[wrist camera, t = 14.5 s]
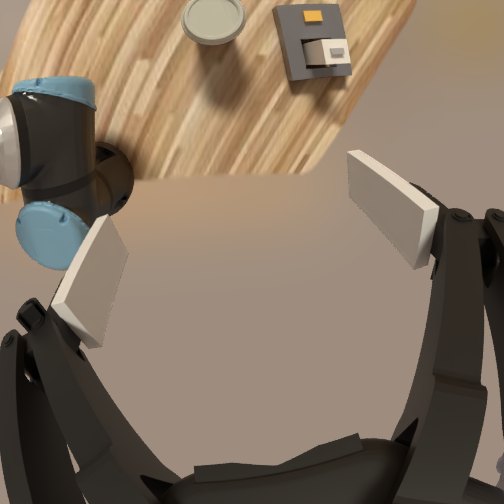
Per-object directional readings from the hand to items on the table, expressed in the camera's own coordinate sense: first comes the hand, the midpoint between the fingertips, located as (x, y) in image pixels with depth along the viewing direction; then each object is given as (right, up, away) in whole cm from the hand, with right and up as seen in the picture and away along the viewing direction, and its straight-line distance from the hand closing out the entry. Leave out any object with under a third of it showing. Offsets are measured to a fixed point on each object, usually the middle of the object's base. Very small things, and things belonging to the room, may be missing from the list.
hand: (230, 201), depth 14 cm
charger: (+12, +32, +25) cm, 42 cm away
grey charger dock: (+11, +34, +23) cm, 43 cm away
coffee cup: (-5, +34, +21) cm, 40 cm away
